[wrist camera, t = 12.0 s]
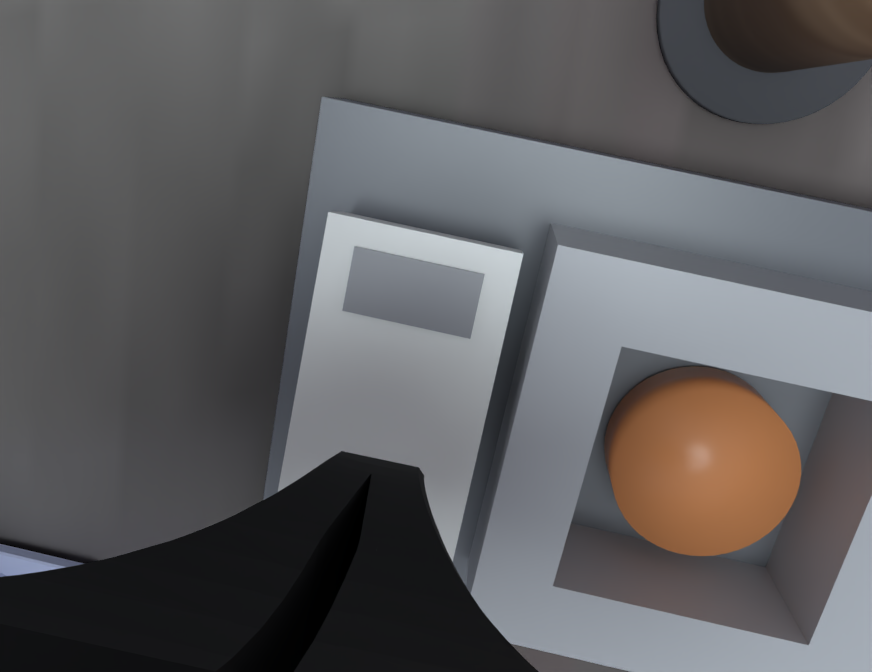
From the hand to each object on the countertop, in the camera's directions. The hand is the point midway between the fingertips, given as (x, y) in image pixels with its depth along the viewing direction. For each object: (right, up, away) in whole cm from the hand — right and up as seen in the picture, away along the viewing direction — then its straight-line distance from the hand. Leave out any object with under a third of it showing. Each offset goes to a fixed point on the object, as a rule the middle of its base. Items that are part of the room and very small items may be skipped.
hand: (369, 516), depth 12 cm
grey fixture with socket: (+4, +2, +7) cm, 8 cm away
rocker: (0, +1, +4) cm, 4 cm away
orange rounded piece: (+6, 0, +5) cm, 8 cm away
